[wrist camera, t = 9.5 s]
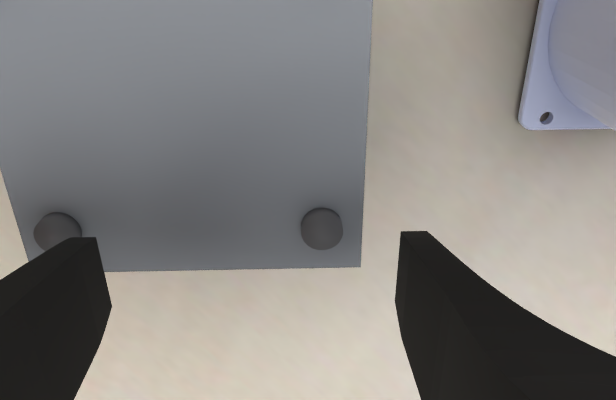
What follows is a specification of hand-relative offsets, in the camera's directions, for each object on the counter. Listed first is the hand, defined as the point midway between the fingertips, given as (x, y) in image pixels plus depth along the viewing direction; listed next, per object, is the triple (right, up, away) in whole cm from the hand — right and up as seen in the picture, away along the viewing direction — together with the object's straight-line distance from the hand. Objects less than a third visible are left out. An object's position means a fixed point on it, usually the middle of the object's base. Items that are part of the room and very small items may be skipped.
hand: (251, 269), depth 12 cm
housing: (-2, +7, +7) cm, 11 cm away
